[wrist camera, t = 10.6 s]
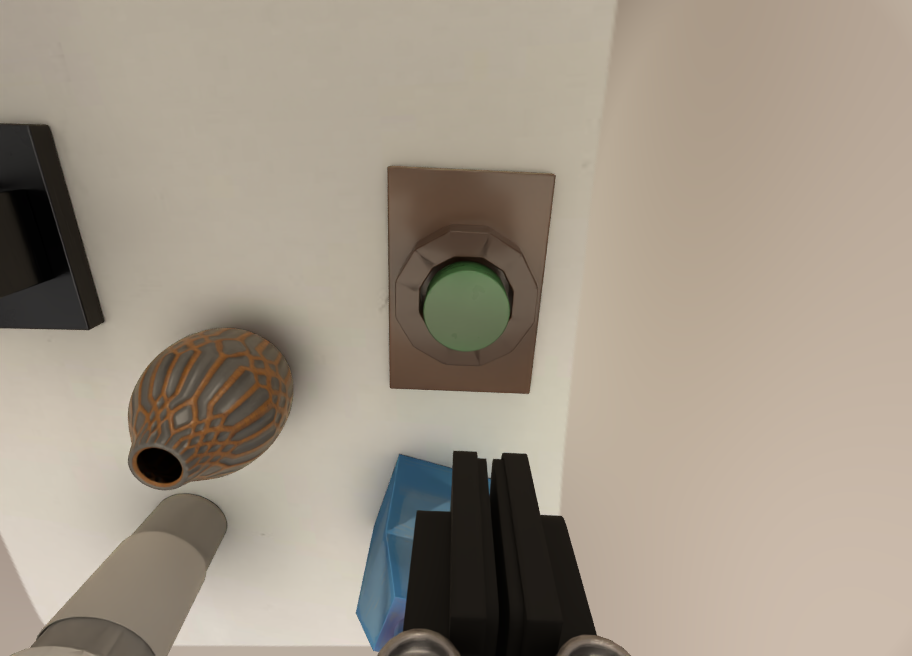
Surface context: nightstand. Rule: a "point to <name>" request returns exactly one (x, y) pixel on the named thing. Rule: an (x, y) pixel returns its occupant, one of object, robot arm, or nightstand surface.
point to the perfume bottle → (398, 545)
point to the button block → (465, 239)
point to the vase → (207, 407)
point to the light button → (466, 306)
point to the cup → (140, 586)
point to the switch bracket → (40, 239)
